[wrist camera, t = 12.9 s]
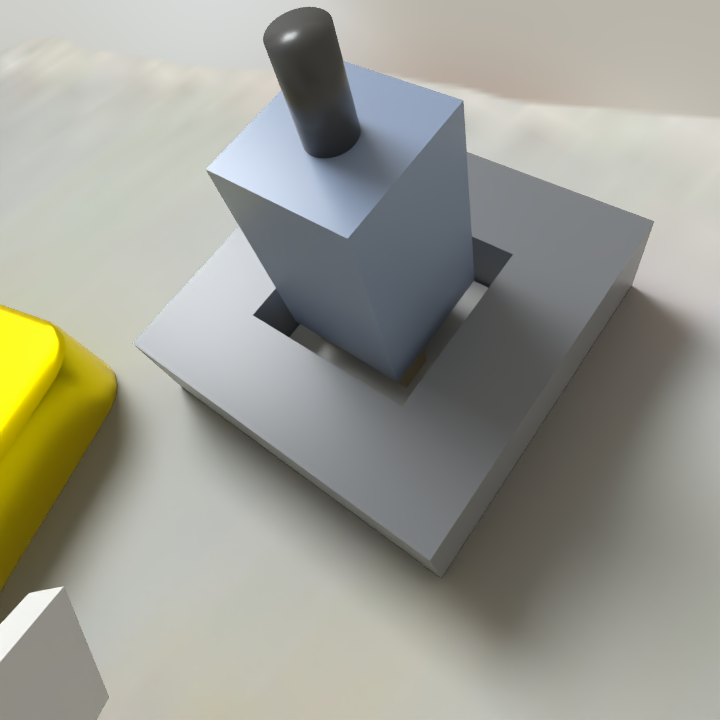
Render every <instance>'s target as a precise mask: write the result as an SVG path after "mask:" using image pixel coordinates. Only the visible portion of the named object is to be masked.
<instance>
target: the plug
mask: <svg viewBox="0 0 720 720" xmlns="http://www.w3.org/2000/svg"><path fill="white" fill-rule="evenodd" d="M263 41H264V45H265V48H266V50H267V53H268V56H269V58H270V61H271V63H272V66H273V69H274V71H275V74H276V77H277V79H278V82H279V85H280V87H281V91H280V93H279V94H278V95H277V96H276V97H275V98H274V99H273V100H272V101H271V102H270V103H269V104H268V105H267V106H266V107H265V108H264V109H263V110H262V111H261V112H260V113H259V114H258V115H257V116H256V117H255V119H254V120H253V121H252V122H251V123H250V124H249V125H248V126H247V127H246V128H245V129H244V130H243V131H242V132H241V133H240V134H239V135H238V136H237V137H236V138H235V139H234V140H233V141H232V142H231V143H230V144H229V146H228V147H227V148H226V149H225V150H224V151H223V152H222V153H221V154H220V155H219V156H218V157H217V158H216V159H215V160H214V161H213V162H212V163H211V164H210V165H209V166H208V167H207V168H206V171H207V172H208V174H209V176H210V177H211V179H212V181H213V182H214V184H215V186H216V187H217V189H218V191H219V193H220V194H221V196H222V198H223V199H224V201H225V203H226V204H227V206H228V208H229V209H230V211H231V213H232V215H233V216H234V218H235V220H236V221H237V223H238V225H239V226H240V228H241V230H242V231H243V233H244V235H245V237H246V238H247V240H248V242H249V243H250V245H251V247H252V248H253V250H254V252H255V254H256V255H257V257H258V259H259V260H260V262H261V264H262V265H263V267H264V269H265V270H266V272H267V274H268V276H269V277H270V279H271V281H272V282H273V284H274V286H275V287H276V289H277V291H278V292H279V294H280V296H281V298H282V299H283V301H284V303H285V304H286V306H287V308H288V309H289V311H290V313H291V314H292V316H293V318H294V320H295V321H296V322H298V323H299V324H301V325H303V326H304V327H306V328H308V329H309V330H311V331H313V332H315V333H316V334H318V335H320V336H321V337H322V338H323V339H325V340H327V341H328V342H330V343H332V344H333V345H335V346H337V347H339V348H340V349H342V350H345V351H346V352H348V353H350V354H352V355H353V356H355V357H357V358H358V359H360V360H362V361H363V362H365V363H367V364H368V365H370V366H372V367H373V368H375V369H377V370H378V371H380V372H382V374H384V375H386V376H387V377H389V378H391V379H392V380H394V381H396V382H397V383H399V384H401V385H402V386H404V387H406V388H407V387H408V385H409V384H410V383H411V381H412V380H413V378H414V377H415V376H416V374H417V373H418V372H419V370H420V369H421V368H422V366H423V365H424V364H425V362H426V361H427V359H426V354H425V350H424V347H425V346H426V345H427V343H428V342H429V341H430V339H431V338H432V337H433V335H434V334H435V333H436V331H437V330H438V329H439V327H440V326H441V325H442V323H443V322H444V320H445V319H446V318H447V316H448V315H449V314H450V312H451V311H452V310H453V308H454V307H455V306H456V304H457V303H458V302H459V300H460V299H461V298H462V296H463V295H464V294H465V292H466V291H467V290H468V288H469V287H470V285H471V284H472V283H473V281H474V280H475V278H474V262H473V246H472V231H471V215H470V199H469V183H468V167H467V151H466V136H465V120H464V104H463V100H460V99H457V98H454V97H451V96H448V95H445V94H442V93H439V92H436V91H433V90H430V89H427V88H424V87H421V86H418V85H415V84H412V83H408V82H405V81H402V80H399V79H396V78H393V77H390V76H387V75H384V74H381V73H378V72H375V71H372V70H369V69H366V68H363V67H360V66H357V65H354V64H351V63H348V62H344V61H343V59H342V55H341V51H340V47H339V43H338V39H337V36H336V32H335V27H334V24H333V20H332V17H331V15H330V14H329V13H328V12H327V11H325V10H323V9H320V8H316V7H303V8H298V9H294V10H291V11H289V12H286V13H284V14H283V15H281V16H279V17H278V18H276V19H275V20H274V21H273V22H272V23H271V24H270V25H269V26H268V27H267V29H266V31H265V33H264V37H263Z"/></svg>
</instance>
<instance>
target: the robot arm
mask: <svg viewBox="0 0 720 720" xmlns="http://www.w3.org/2000/svg"><path fill="white" fill-rule="evenodd" d="M108 698H109V696H108V693H107V691H106V688H105V686H104V683H103V681H102V678H101V676H100V673H99V671H98V669H97V666H96V664H95V661H94V659H93V656H92V654H91V651H90V649H89V647H88V644H87V642H86V639H85V637H84V634H83V632H82V629H81V627H80V625H79V622H78V620H77V617H76V615H75V612H74V610H73V607H72V605H71V602H70V600H69V598H68V595H67V593H66V590H65V588H64V586H63V587H57V588H52V589H47V590H42V591H37V592H32V593H29V594H28V595H27V596H26V597H25V598H24V599H23V600H22V601H21V602H20V603H19V604H18V606H17V607H16V608H15V609H14V610H13V611H12V612H11V613H10V614H9V615H8V616H7V618H6V619H5V620H4V621H3V622H2V623H1V624H0V720H97V718H98V716H99V714H100V712H101V711H102V709H103V707H104V705H105V703H106V702H107V700H108Z"/></svg>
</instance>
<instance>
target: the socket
mask: <svg viewBox="0 0 720 720" xmlns="http://www.w3.org/2000/svg"><path fill="white" fill-rule="evenodd" d="M467 167H468V183H469V199H470V215H471V231H472V246H473V262H474V278H475V280H474V281H473V283H472V284H471V285H470V287H469V288H468V290H467V291H466V292H465V294H464V295H463V296H462V298H461V299H460V300H459V302H458V303H457V304H456V306H455V307H454V308H453V310H452V311H451V312H450V314H449V315H448V316H447V318H446V319H445V320H444V322H443V323H442V325H441V326H440V327H439V329H438V330H437V331H436V333H435V334H434V335H433V337H432V338H431V339H430V341H429V342H428V343H427V345H426V346H425V347H424V350H425V354H426V359H427V361H426V362H425V364H424V365H423V366H422V368H421V369H420V370H419V372H418V373H417V374H416V376H415V377H414V378H413V380H412V381H411V383H410V384H409V385H408V387H407V388H406V387H404V386H402V385H401V384H399V383H397V382H396V381H394V380H392V379H391V378H389V377H387V376H386V375H384V374H382V372H380V371H378V370H377V369H375V368H373V367H372V366H370V365H368V364H367V363H365V362H363V361H362V360H360V359H358V358H357V357H355V356H353V355H352V354H350V353H348V352H346V351H345V350H342V349H340V348H339V347H337V346H335V345H333V344H332V343H330V342H328V341H327V340H325V339H323V338H322V337H321V336H320V335H318V334H316V333H315V332H313V331H311V330H309V329H308V328H306V327H304V326H303V325H301V324H299V323H298V322H296V321H295V320H294V318H293V316H292V314H291V313H290V311H289V309H288V308H287V306H286V304H285V303H284V301H283V299H282V298H281V296H280V294H279V292H278V291H277V289H276V287H275V286H274V284H273V282H272V281H271V279H270V277H269V276H268V274H267V272H266V270H265V269H264V267H263V265H262V264H261V262H260V260H259V259H258V257H257V255H256V254H255V252H254V250H253V248H252V247H251V245H250V243H249V242H248V240H247V238H246V237H245V235H244V233H243V231H242V230H241V228H240V226H239V227H238V228H237V229H236V230H235V231H234V232H233V233H232V234H231V235H230V236H229V238H228V239H227V240H226V241H225V242H224V243H223V244H222V245H221V246H220V247H219V249H218V250H217V251H216V252H215V253H214V254H213V255H212V256H211V257H210V258H209V260H208V261H207V262H206V263H205V264H204V265H203V266H202V267H201V268H200V269H199V271H198V272H197V273H196V274H195V275H194V276H193V277H192V278H191V279H190V280H189V282H188V283H187V284H186V285H185V286H184V287H183V288H182V289H181V290H180V291H179V293H178V294H177V295H176V296H175V297H174V298H173V299H172V300H171V301H170V302H169V303H168V305H167V306H166V307H165V308H164V309H163V310H162V311H161V312H160V313H159V314H158V316H157V317H156V318H155V319H154V320H153V321H152V322H151V323H150V324H149V325H148V327H147V328H146V329H145V330H144V331H143V332H142V333H141V334H140V335H139V336H138V338H137V339H136V340H135V341H134V342H133V343H132V344H134V345H135V346H136V347H137V348H138V349H139V350H140V351H142V352H143V353H144V354H145V355H146V356H147V357H148V358H150V359H151V360H152V361H153V362H154V363H155V364H156V365H157V366H159V367H160V368H161V369H162V370H163V371H164V372H165V373H167V374H168V375H169V376H170V377H171V378H172V379H173V380H175V381H176V382H177V383H178V384H179V385H180V386H182V387H183V388H184V389H186V390H187V391H188V392H190V393H191V394H192V395H194V396H195V397H197V398H198V399H199V400H201V401H202V402H203V403H205V404H206V405H207V406H209V407H210V408H211V409H213V410H214V411H216V412H217V413H218V414H220V415H221V416H222V417H224V418H225V419H226V420H228V421H229V422H230V423H232V424H233V425H234V426H236V427H237V428H239V429H240V430H241V431H243V432H244V433H245V434H247V435H248V436H249V437H251V438H252V439H253V440H255V441H256V442H258V443H259V444H260V445H262V446H263V447H264V448H266V449H267V450H268V451H270V452H271V453H272V454H274V455H275V456H277V457H278V458H279V459H281V460H282V461H283V462H285V463H286V464H287V465H289V466H290V467H291V468H293V469H294V470H295V471H297V472H298V473H300V474H301V475H302V476H304V477H305V478H306V479H308V480H309V481H310V482H312V483H313V484H314V485H316V486H317V487H319V488H320V489H321V490H323V491H324V492H325V493H327V494H328V495H329V496H331V497H332V498H333V499H335V500H336V501H338V502H339V503H340V504H342V505H343V506H344V507H346V508H347V509H348V510H350V511H351V512H352V513H354V514H355V515H356V516H358V517H359V518H361V519H362V520H363V521H365V522H366V523H367V524H369V525H370V526H371V527H373V528H374V529H375V530H377V531H378V532H380V533H381V534H382V535H384V536H385V537H386V538H388V539H389V540H390V541H392V542H393V543H394V544H396V545H397V546H399V547H400V548H401V549H403V550H404V551H405V552H407V553H408V554H409V555H411V556H412V557H413V558H415V559H416V560H417V561H419V562H420V563H422V564H423V565H424V566H426V567H427V568H428V569H430V570H431V571H432V572H434V573H435V574H436V575H438V576H439V577H441V578H442V577H443V575H444V574H445V572H446V571H447V569H448V568H449V566H450V564H451V563H452V561H453V560H454V558H455V557H456V555H457V554H458V552H459V551H460V549H461V548H462V546H463V544H464V543H465V541H466V540H467V538H468V537H469V535H470V534H471V532H472V531H473V529H474V527H475V526H476V524H477V523H478V521H479V520H480V518H481V517H482V515H483V514H484V512H485V511H486V509H487V507H488V506H489V504H490V503H491V501H492V500H493V498H494V497H495V495H496V494H497V492H498V491H499V489H500V487H501V486H502V484H503V483H504V481H505V480H506V478H507V477H508V475H509V474H510V472H511V470H512V469H513V467H514V466H515V464H516V463H517V461H518V460H519V458H520V457H521V455H522V454H523V452H524V450H525V449H526V447H527V446H528V444H529V443H530V441H531V440H532V438H533V437H534V435H535V434H536V432H537V430H538V429H539V427H540V426H541V424H542V423H543V421H544V420H545V418H546V417H547V415H548V413H549V412H550V410H551V409H552V407H553V406H554V404H555V403H556V401H557V400H558V398H559V397H560V395H561V393H562V392H563V390H564V389H565V387H566V386H567V384H568V383H569V381H570V380H571V378H572V377H573V375H574V373H575V372H576V370H577V369H578V367H579V366H580V364H581V363H582V361H583V360H584V358H585V356H586V355H587V353H588V352H589V350H590V349H591V347H592V346H593V344H594V343H595V341H596V340H597V338H598V336H599V335H600V333H601V332H602V330H603V329H604V327H605V326H606V324H607V323H608V321H609V320H610V318H611V316H612V315H613V313H614V312H615V310H616V309H617V307H618V306H619V304H620V303H621V301H622V299H623V298H624V296H625V295H626V293H627V292H628V290H629V289H630V287H631V286H632V283H633V281H634V278H635V275H636V272H637V269H638V266H639V263H640V260H641V258H642V255H643V252H644V249H645V246H646V243H647V240H648V238H649V235H650V232H651V229H652V226H653V223H654V221H652V220H649V219H646V218H644V217H641V216H638V215H636V214H633V213H630V212H627V211H625V210H622V209H619V208H617V207H614V206H611V205H609V204H606V203H603V202H600V201H598V200H595V199H592V198H590V197H587V196H584V195H582V194H579V193H576V192H573V191H571V190H568V189H565V188H563V187H560V186H557V185H555V184H552V183H549V182H546V181H544V180H541V179H538V178H536V177H533V176H530V175H528V174H525V173H522V172H519V171H517V170H514V169H511V168H509V167H506V166H503V165H501V164H498V163H495V162H492V161H490V160H487V159H484V158H482V157H479V156H476V155H474V154H471V153H468V152H467Z"/></svg>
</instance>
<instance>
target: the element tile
mask: <svg viewBox="0 0 720 720" xmlns="http://www.w3.org/2000/svg"><path fill="white" fill-rule="evenodd" d="M116 389H117V382H116V377H115V373H114V372H113V371H112V370H111V369H110V367H109V366H108V365H107V364H106V363H105V362H104V361H102V360H101V359H100V358H98V357H97V356H96V355H94V354H93V353H92V352H91V351H89V350H88V349H87V348H85V347H84V346H83V345H81V344H80V343H79V342H77V341H76V340H75V339H74V338H72V337H71V336H70V335H68V334H67V333H66V332H64V331H63V330H62V329H61V328H59V327H58V326H56V325H54V324H53V323H51V322H49V321H46V320H43V319H40V318H38V317H35V316H32V315H29V314H26V313H23V312H20V311H17V310H14V309H12V308H9V307H6V306H3V305H0V591H1V589H2V588H3V586H4V584H5V583H6V581H7V580H8V578H9V576H10V575H11V573H12V571H13V570H14V568H15V566H16V565H17V563H18V561H19V560H20V558H21V557H22V555H23V553H24V552H25V550H26V548H27V547H28V545H29V543H30V542H31V540H32V538H33V537H34V535H35V533H36V532H37V530H38V529H39V527H40V525H41V524H42V522H43V520H44V519H45V517H46V515H47V514H48V512H49V510H50V509H51V507H52V506H53V504H54V502H55V501H56V499H57V497H58V496H59V494H60V492H61V491H62V489H63V487H64V486H65V484H66V483H67V481H68V479H69V478H70V476H71V474H72V473H73V471H74V469H75V468H76V466H77V464H78V463H79V461H80V459H81V458H82V456H83V455H84V453H85V451H86V450H87V448H88V446H89V445H90V443H91V441H92V440H93V438H94V436H95V435H96V433H97V432H98V430H99V428H100V427H101V425H102V423H103V422H104V420H105V418H106V417H107V415H108V413H109V411H110V409H111V407H112V405H113V402H114V399H115V394H116Z"/></svg>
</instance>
